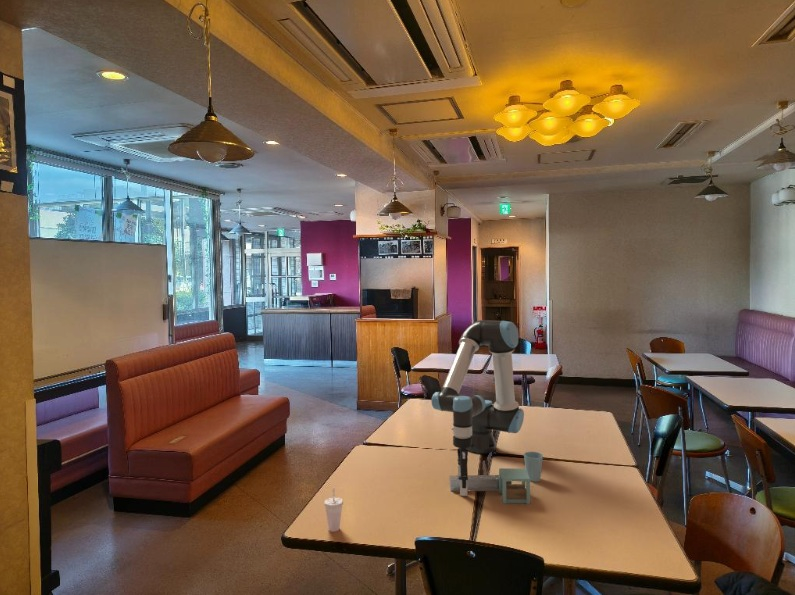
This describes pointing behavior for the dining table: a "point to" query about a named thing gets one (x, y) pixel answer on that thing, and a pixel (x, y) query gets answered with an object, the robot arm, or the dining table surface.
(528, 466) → the cup
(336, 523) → the smoothie
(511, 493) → the walnut block
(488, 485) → the grey bar
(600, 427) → the dining table surface
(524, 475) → the bridge
